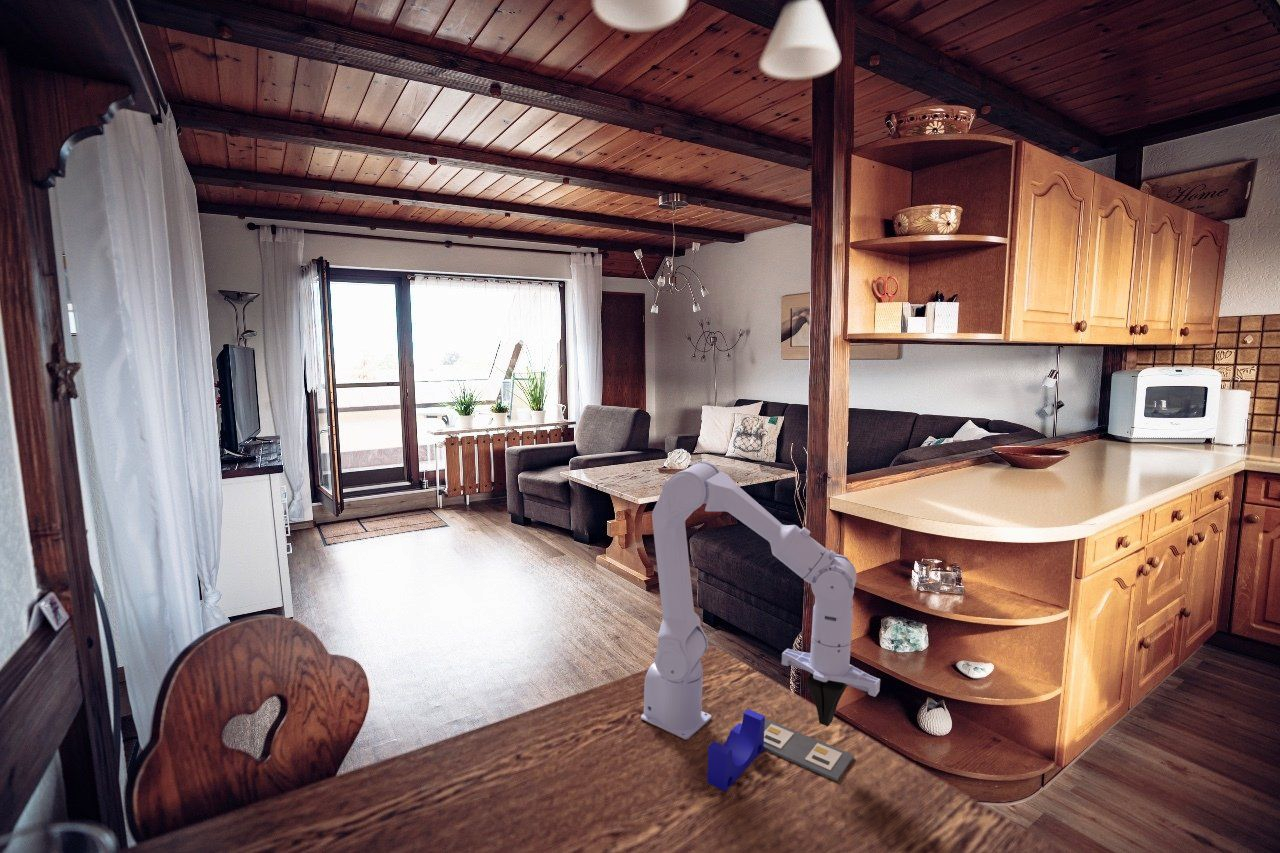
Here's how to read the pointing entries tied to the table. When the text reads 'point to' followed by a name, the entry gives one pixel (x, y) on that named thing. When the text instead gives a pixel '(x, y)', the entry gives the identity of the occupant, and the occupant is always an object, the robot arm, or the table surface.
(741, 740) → the cable clip
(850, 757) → the label board
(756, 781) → the table surface
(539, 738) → the table surface
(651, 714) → the robot arm
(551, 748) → the table surface
